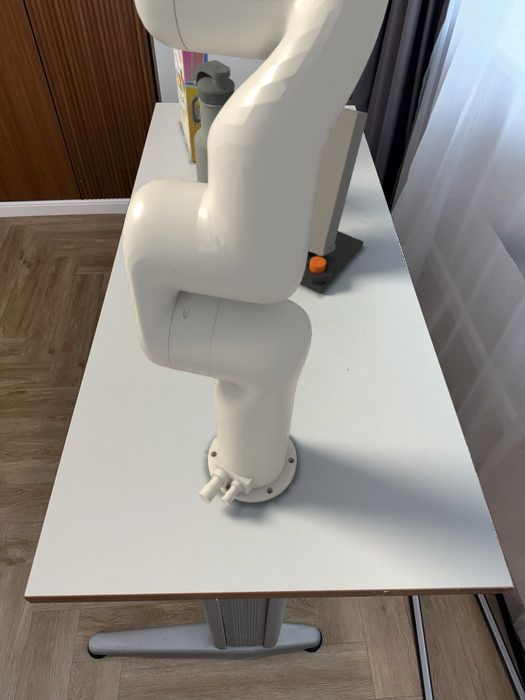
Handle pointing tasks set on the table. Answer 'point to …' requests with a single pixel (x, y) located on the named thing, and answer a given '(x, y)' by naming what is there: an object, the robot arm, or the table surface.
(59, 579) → the table surface
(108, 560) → the table surface
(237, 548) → the table surface
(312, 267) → the tare button
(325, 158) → the grey tall block
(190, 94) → the game box
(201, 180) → the water bottle
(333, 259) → the scale
